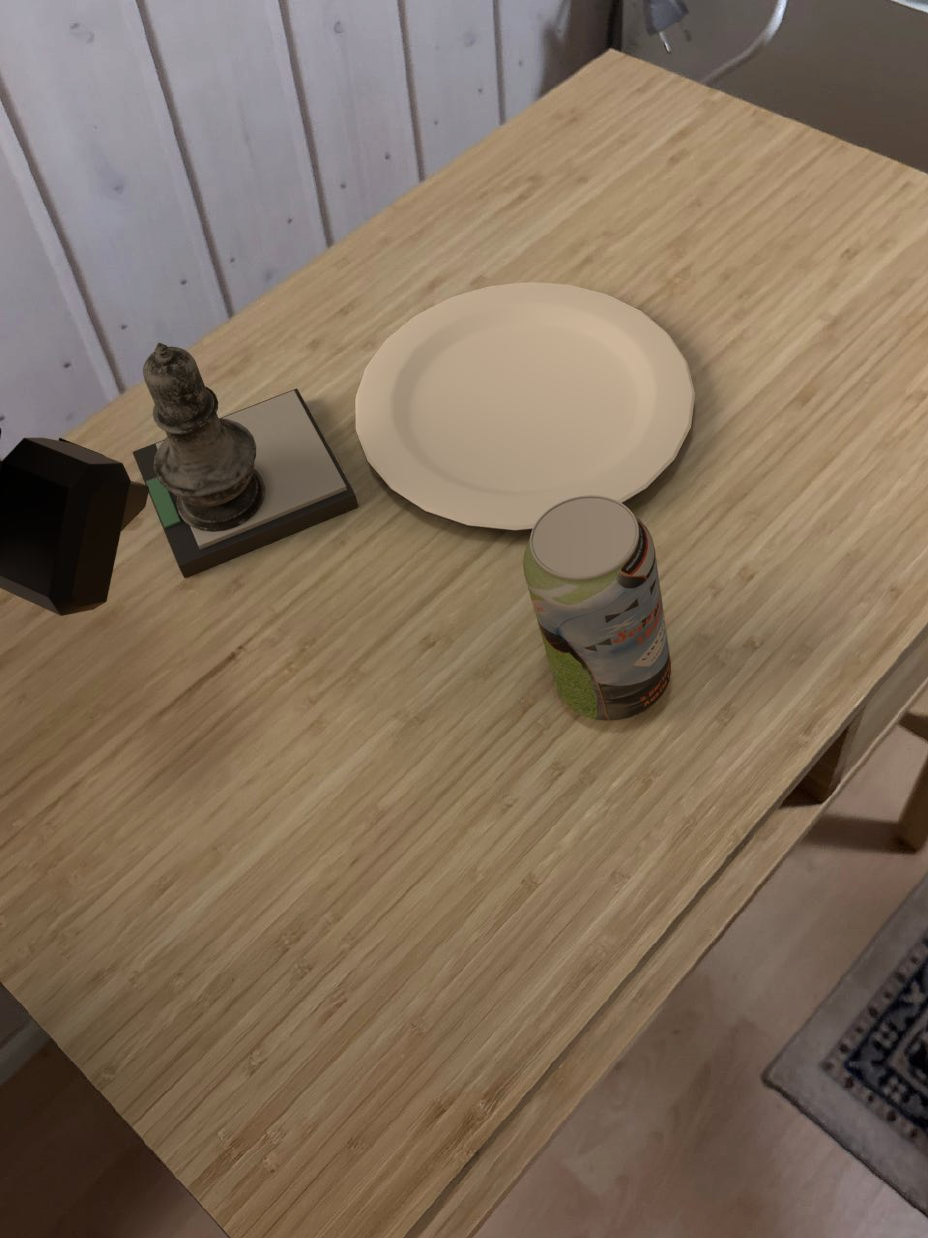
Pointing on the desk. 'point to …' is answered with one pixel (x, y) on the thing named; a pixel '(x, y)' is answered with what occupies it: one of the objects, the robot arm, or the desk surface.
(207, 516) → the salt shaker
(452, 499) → the plate
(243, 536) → the scale
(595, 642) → the beverage can
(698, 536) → the desk surface
